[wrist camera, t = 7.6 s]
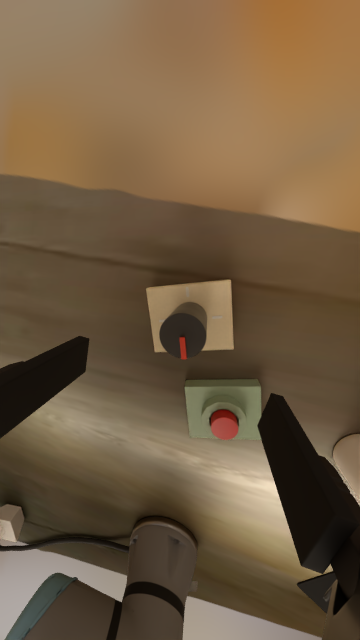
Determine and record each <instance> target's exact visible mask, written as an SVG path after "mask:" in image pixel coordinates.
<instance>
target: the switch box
mask: <svg viewBox="0 0 360 640" xmlns="http://www.w3.org/2000/svg"><path fill="white" fill-rule="evenodd" d="M184 388H185V397H186V407H187V416H188V425H189V435H190V437H196V438H217V437H216V436H215V435H214V434H213V433H212V431H211V416H212V414H213V413H214V412H216V411H218V410H228V411H230V412H232V413H233V414H234V415H235V416H236V419H237V424H238V433H237V435H236V436H235V437H234V438H232V439H245V440H261V437H260V433H259V430H258V427H257V425H258V423H259V420H260V418H261V385H260V383H259V381H258V379H218V380H186V382H185V386H184ZM217 439H219V438H217ZM232 439H229V440H232ZM219 440H222V439H219Z"/></svg>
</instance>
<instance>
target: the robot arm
mask: <svg viewBox="0 0 360 640" xmlns="http://www.w3.org/2000/svg"><path fill="white" fill-rule="evenodd" d="M88 345H89V338H85V337H82V336H78V337H76V338H74V339H72V340H70V341H68V342H65V343H63V344H61V345H59V346H57V347H55V348H53V349H51V350H49V351H46V352H44V353H42V354H40V355H38V356H36V357H34V358H32V359H30V360H28V361H25V362H23V361H21V362H17V363H13V364H10V365H7V366H5V367H3V368H1V369H0V438H2V437H3V436H4V435H5V434H7V433H8V432H9V431H10V430H12V429H13V428H14V427H16V426H17V425H18V424H19V423H21V422H22V421H23V420H24V419H26V418H27V417H28V416H30V415H31V414H32V413H33V412H35V411H36V410H37V409H38V408H40V407H41V406H42V405H44V404H45V403H46V402H47V401H49V400H50V399H51V398H52V397H54V396H55V395H56V394H58V393H59V392H60V391H61V390H63V389H64V388H65V387H66V386H68V385H69V384H70V383H72V382H73V381H74V380H75V379H77V378H78V377H79V376H80V375H82V374H83V373H84V372H85V370H86V362H87V354H88ZM257 427H258V430H259V433H260V437H261V440H262V443H263V446H264V449H265V453H266V456H267V459H268V462H269V465H270V468H271V472H272V475H273V478H274V481H275V484H276V487H277V491H278V494H279V497H280V500H281V503H282V507H283V510H284V513H285V516H286V519H287V522H288V526H289V529H290V532H291V535H292V538H293V542H294V545H295V548H296V551H297V554H298V557H299V561H300V564H301V566H303V567H305V568H308V569H311V570H313V571H316V572H319V573H321V574H323V573H324V572H325V570H326V569H327V568H328V566H329V565H330V564H331V566H332V568H333V571H334V573H335V576H336V578H337V579H336V581H335V582H334V583H333V584H332V586H331V587H330V588H329V589H328V591H327V592H326V593H325V595H324V597H323V598H324V599H325V601H326V602H327V601H328V600H329V598H330V601H329V606H328V611H327V616H326V622H325V627H324V632H323V637H322V640H360V506H359V505H358V503H357V501H356V500H355V498H354V497H353V495H352V494H350V491H349V489H348V488H347V486H346V484H345V483H343V480H342V478H341V477H340V475H339V474H338V472H337V471H336V469H335V468H334V467H333V466H332V465H331V464H330V463H329V461H328V460H327V459H326V458H325V457H323V456H319V455H318V454H317V452H316V451H315V449H314V447H313V446H312V444H311V442H310V441H309V439H308V437H307V436H306V434H305V432H304V431H303V429H302V427H301V426H300V424H299V422H298V421H297V419H296V417H295V416H294V414H293V412H292V411H291V409H290V407H289V406H288V404H287V402H286V401H285V399H284V397H283V396H280V395H276V394H273V393H271V395H270V397H269V400H268V402H267V404H266V406H265V409H264V411H263V413H262V416H261V418H260V420H259V423H258V425H257ZM60 543H88V544H96V545H102V546H107V547H111V548H114V549H117V550H120V551H123V552H127V553H129V559H128V573H127V584H126V588H125V593H124V596H123V600H122V603H121V602H119V601H117V600H115V599H114V598H112V597H110V596H108V595H106V594H103V593H102V592H100V591H98V590H96V589H94V588H92V587H90V586H88V585H87V584H85V583H83V582H81V581H79V580H78V578H76V577H74V578H72V577H69V576H66V575H64V574H62V573H55V574H52V575H51V576H50V577H48V578H47V579H46V580H45V581H44V582H43V584H42V585H41V586H40V587H39V588H38V590H37V591H36V593H35V594H34V595H33V597H32V598H31V600H30V601H29V603H28V604H27V605H26V607H25V608H24V610H23V611H22V613H21V614H20V616H19V618H18V619H17V621H16V622H15V624H14V625H13V627H12V629H11V630H10V632H9V633H8V635H7V637H6V639H5V640H182V637H183V623H184V610H185V602H186V598H187V594H188V591H197V581H191V580H192V576H193V573H194V569H195V566H196V560H197V543H196V540H195V538H194V536H193V535H192V534H191V532H190V531H189V530H188V529H187V528H185V527H184V526H183V525H181V524H180V523H178V522H176V521H174V520H171V519H168V518H164V517H147V518H144V519H142V520H140V521H139V522H137V523H136V525H135V526H134V528H133V532H132V535H131V539H130V545H129V547H128V546H125V545H121V544H118V543H115V542H111V541H107V540H101V539H94V538H83V537H68V538H59V539H53V540H49V541H45V542H42V543H37V544H32V545H25V546H1V545H0V551H24V550H31V549H37V548H41V547H45V546H48V545H53V544H60Z"/></svg>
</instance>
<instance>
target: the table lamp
mask: <svg viewBox="0 0 360 640" xmlns="http://www.w3.org/2000/svg"><path fill="white" fill-rule="evenodd" d="M336 579H337V578H336V576H335V573H334V572H331V573H328V574H324V575H321V576H318V577H315V578H312V579H309V580H306V581H303V582H300V583H298V584H297V586H298V587H299V588H300V589H301V590H302V591H303V592H304V593H305V594H306V595H308V596H309V597H310V598H311V599H312V600H313V601H314V602H315V603H316V604H317V605H318V606H319V607H320V608H321V609H322V610H323V611H324V612H325V613H327V611H328V606H329V601H330V598H329V600H328V601H327V602H326V601H325V599H324V598H323V597H324V595H325V593H326V592H327V591H328V589H329V588H330V587H331V586H332V584H333V583H334V582H335V581H336Z"/></svg>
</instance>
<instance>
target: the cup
mask: <svg viewBox="0 0 360 640" xmlns="http://www.w3.org/2000/svg"><path fill="white" fill-rule="evenodd" d="M333 458H334V461H335V463H336V465H337V467H338V469H339V470H340V472H341V473H342V475H343V476H344V478H345V479H346V481H347V482H348V484H349V485H350V487H351V488H352V490H353V491H354V493H355V494H356V496H357V497H358V499H359V500H360V434H353V435H349V436H347V437H344V438H343V439H341V440H340V441H339V442H338V443H337V444H336V445H335V447H334V450H333Z"/></svg>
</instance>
